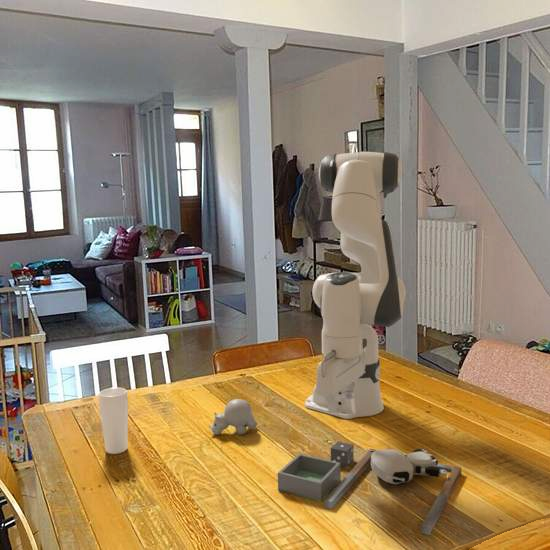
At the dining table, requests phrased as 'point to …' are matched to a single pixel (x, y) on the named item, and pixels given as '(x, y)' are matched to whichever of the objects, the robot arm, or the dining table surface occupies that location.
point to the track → (434, 510)
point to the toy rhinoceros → (234, 417)
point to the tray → (309, 477)
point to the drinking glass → (114, 419)
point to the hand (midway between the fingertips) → (341, 404)
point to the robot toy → (404, 465)
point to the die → (342, 453)
